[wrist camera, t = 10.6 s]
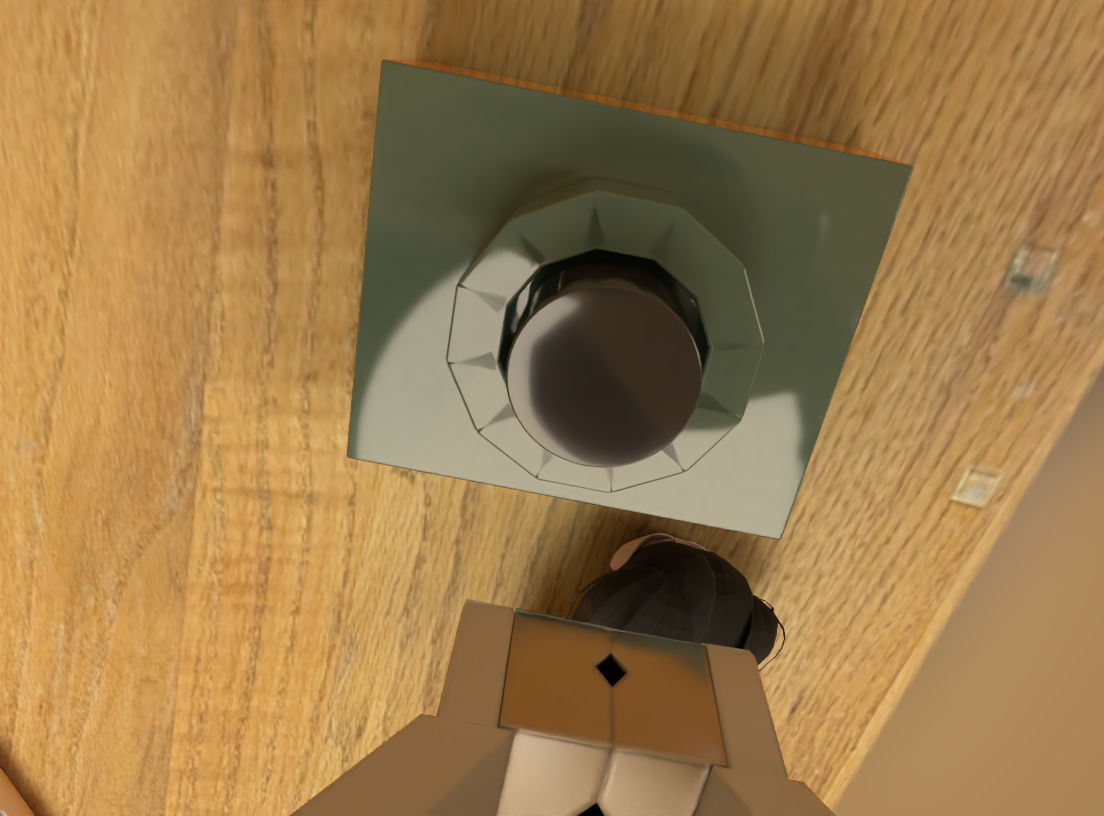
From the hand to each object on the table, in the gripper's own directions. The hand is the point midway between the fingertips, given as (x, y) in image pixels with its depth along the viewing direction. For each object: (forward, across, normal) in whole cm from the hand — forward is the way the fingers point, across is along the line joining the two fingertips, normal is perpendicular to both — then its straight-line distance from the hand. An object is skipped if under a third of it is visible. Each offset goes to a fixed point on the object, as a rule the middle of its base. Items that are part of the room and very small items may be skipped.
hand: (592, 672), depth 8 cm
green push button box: (+16, 0, 0) cm, 16 cm away
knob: (+10, 0, 0) cm, 10 cm away
